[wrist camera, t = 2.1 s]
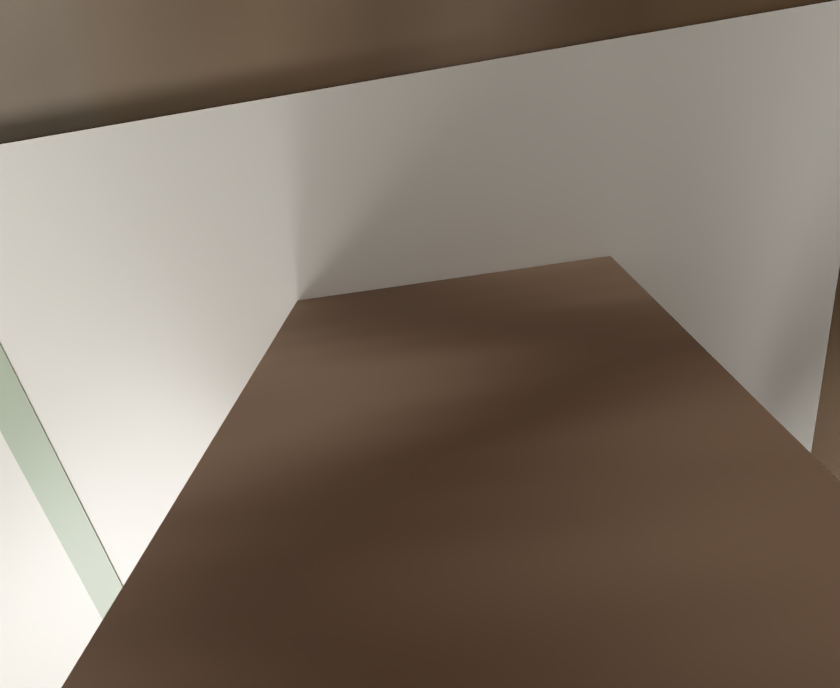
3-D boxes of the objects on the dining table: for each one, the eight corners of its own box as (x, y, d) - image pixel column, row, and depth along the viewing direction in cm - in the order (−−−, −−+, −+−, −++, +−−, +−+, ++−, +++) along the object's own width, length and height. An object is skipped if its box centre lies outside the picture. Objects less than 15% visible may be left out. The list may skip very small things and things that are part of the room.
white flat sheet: (866, -5, 8) (882, -8, 7) (759, 736, 14) (766, 749, 14) (-641, 254, 10) (-674, 260, 9) (-123, 801, 16) (-134, 814, 16)
